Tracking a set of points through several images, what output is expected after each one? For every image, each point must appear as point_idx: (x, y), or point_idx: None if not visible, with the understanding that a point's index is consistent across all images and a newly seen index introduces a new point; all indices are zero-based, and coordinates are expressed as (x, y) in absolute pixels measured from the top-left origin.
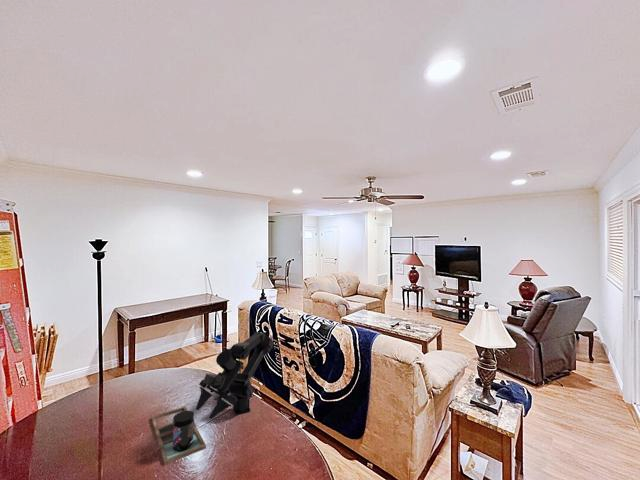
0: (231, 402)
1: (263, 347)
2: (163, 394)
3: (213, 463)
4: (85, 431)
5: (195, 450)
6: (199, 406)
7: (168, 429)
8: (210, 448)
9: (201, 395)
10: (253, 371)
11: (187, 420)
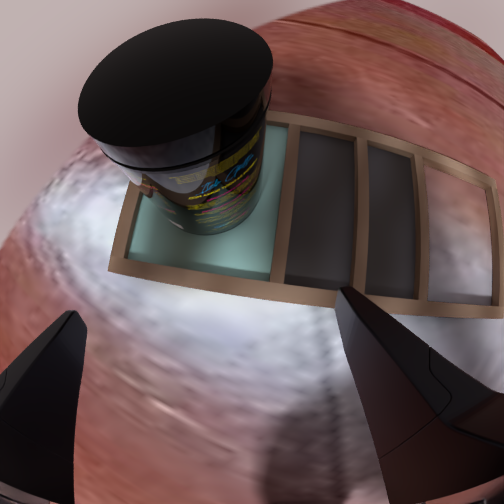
0: None
1: None
2: None
3: (34, 252)
4: (471, 71)
5: (121, 219)
6: (349, 330)
7: (399, 191)
8: (100, 288)
9: (451, 392)
10: None
11: (86, 88)
